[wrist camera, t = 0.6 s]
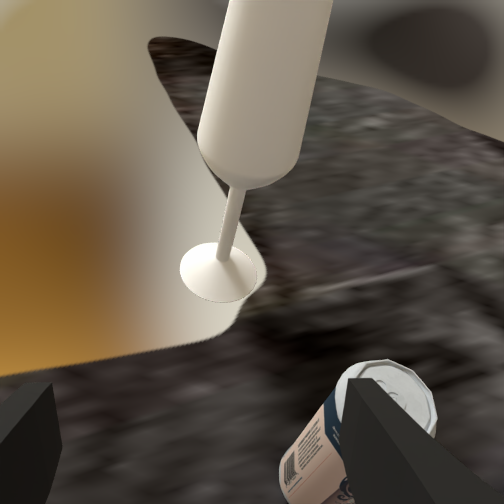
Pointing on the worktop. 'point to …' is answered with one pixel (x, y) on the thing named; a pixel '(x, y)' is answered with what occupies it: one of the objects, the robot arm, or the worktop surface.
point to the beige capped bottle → (328, 429)
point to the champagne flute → (254, 122)
